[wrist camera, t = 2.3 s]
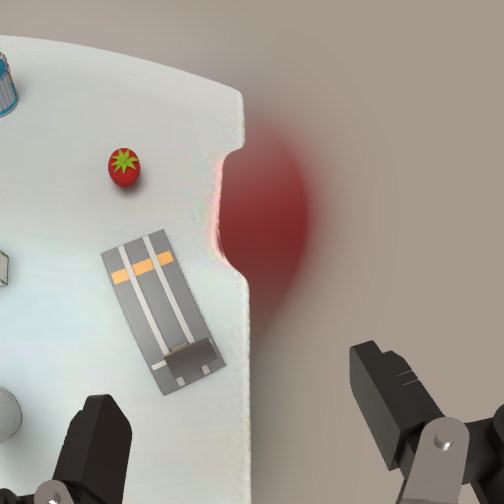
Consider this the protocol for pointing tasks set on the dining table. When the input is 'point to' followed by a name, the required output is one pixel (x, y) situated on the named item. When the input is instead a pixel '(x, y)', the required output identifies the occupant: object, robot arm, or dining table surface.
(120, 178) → the strawberry
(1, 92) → the beverage bottle
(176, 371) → the fader tab
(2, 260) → the syrup box
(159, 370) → the fader console
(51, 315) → the dining table surface
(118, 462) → the robot arm
